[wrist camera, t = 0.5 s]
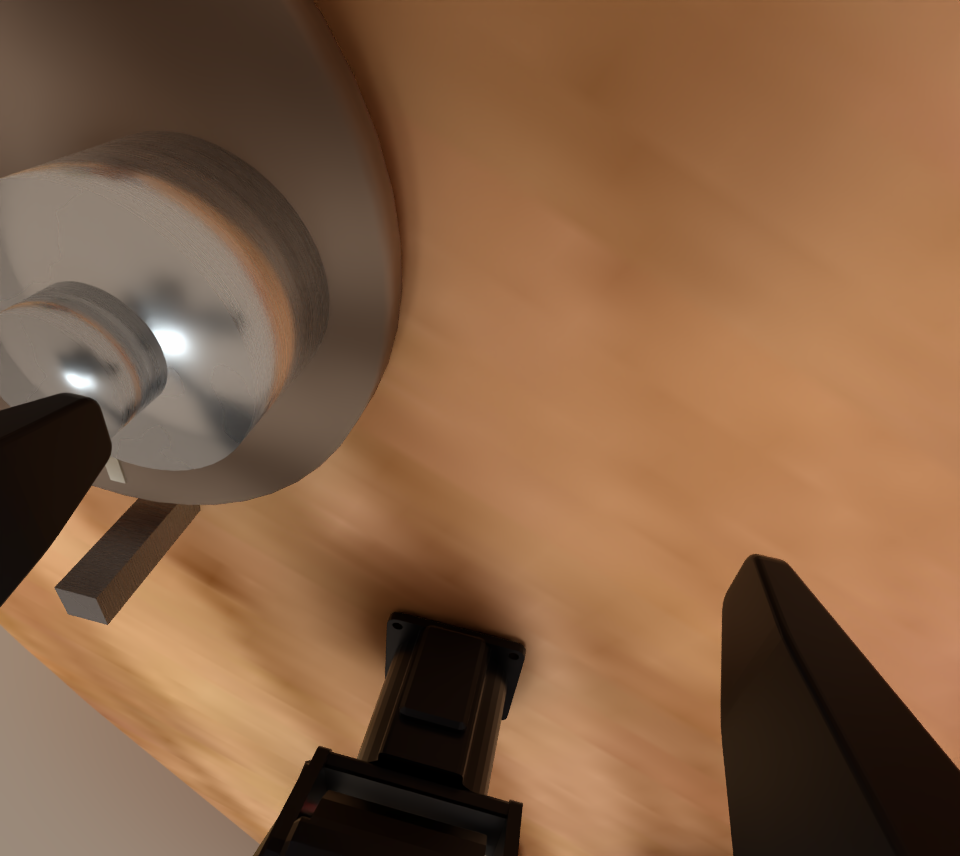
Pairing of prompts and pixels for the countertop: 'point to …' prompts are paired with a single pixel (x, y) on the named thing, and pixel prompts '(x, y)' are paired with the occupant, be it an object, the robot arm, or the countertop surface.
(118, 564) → the post
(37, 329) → the aluminium cover
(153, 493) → the turntable
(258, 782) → the countertop surface
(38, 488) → the robot arm
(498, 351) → the countertop surface
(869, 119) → the countertop surface
